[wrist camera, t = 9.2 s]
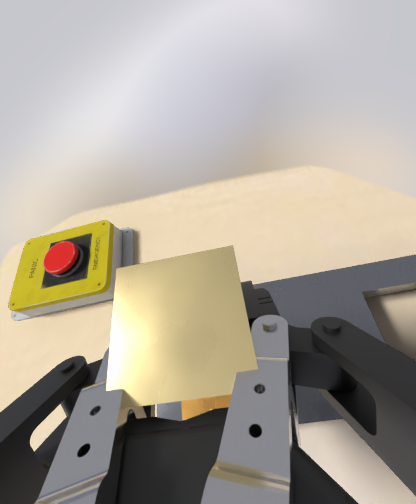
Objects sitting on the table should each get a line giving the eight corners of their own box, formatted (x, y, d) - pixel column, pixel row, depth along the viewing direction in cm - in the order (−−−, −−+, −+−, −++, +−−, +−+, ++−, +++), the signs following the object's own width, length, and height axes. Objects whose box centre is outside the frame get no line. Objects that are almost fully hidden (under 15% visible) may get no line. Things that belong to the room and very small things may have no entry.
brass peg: (245, 314, 16) (232, 245, 7) (258, 379, 14) (262, 390, 5) (190, 323, 16) (116, 268, 8) (195, 387, 14) (104, 410, 6)
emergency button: (113, 283, 21) (-27, 315, 23) (135, 296, 25) (14, 323, 26) (117, 207, 26) (0, 238, 27) (135, 228, 30) (31, 254, 31)
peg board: (442, 259, 20) (467, 243, 18) (533, 388, 16) (584, 391, 13) (165, 309, 23) (154, 302, 21) (169, 431, 18) (155, 441, 16)
